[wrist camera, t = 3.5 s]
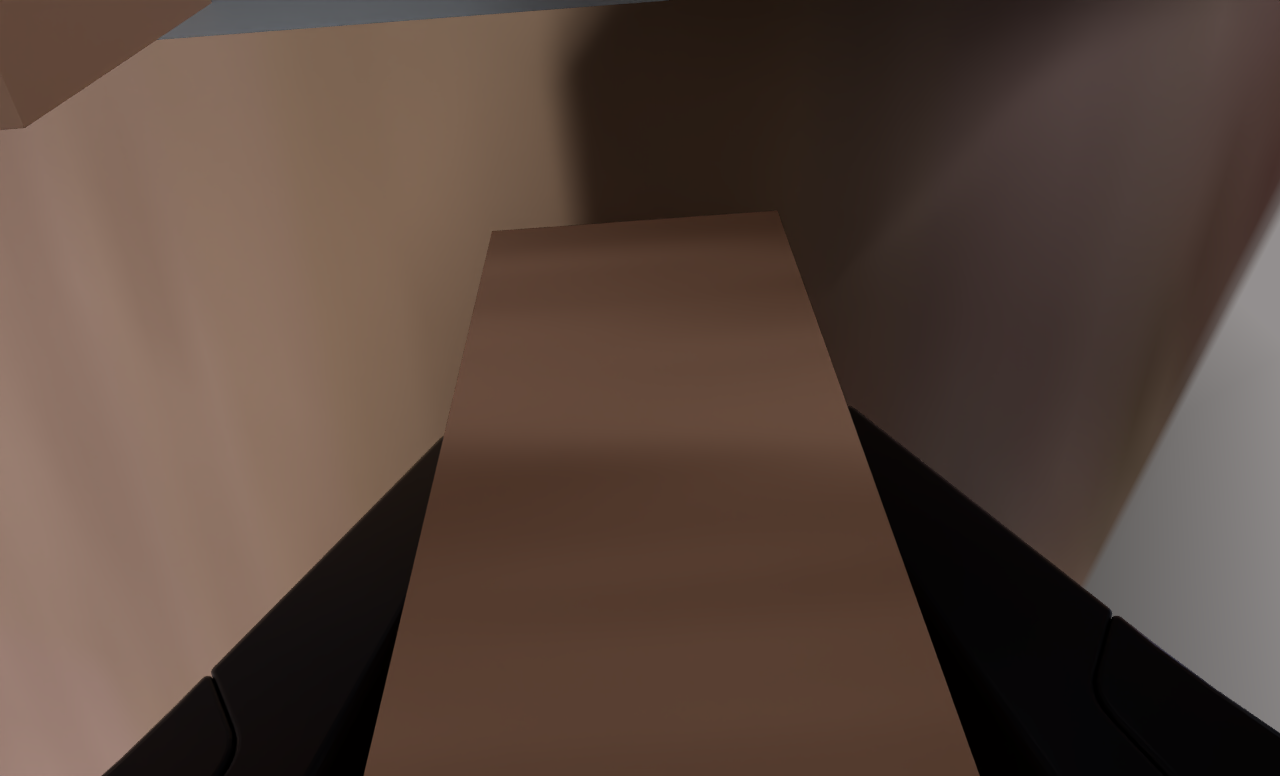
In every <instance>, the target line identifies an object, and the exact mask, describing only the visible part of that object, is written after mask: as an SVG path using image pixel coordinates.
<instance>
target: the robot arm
mask: <svg viewBox="0 0 1280 776" xmlns="http://www.w3.org/2000/svg"><path fill="white" fill-rule="evenodd" d="M847 407H848V409H849V412H850V415H851V418H852V421H853V423H854V426H855V429H856V432H857V434H858V437H859V440H860V443H861V446H862V448H863V451H864V454H865V457H866V460H867V462H868V465H869V468H870V471H871V474H872V476H873V479H874V482H875V485H876V488H877V490H878V493H879V496H880V499H881V502H882V504H883V507H884V510H885V513H886V515H887V518H888V521H889V524H890V527H891V529H892V532H893V535H894V538H895V541H896V543H897V546H898V549H899V552H900V555H901V557H902V560H903V563H904V566H905V569H906V571H907V574H908V577H909V580H910V583H911V585H912V588H913V591H914V594H915V596H916V599H917V602H918V605H919V608H920V610H921V613H922V616H923V619H924V622H925V624H926V627H927V630H928V633H929V636H930V638H931V641H932V644H933V647H934V650H935V652H936V655H937V658H938V661H939V664H940V666H941V669H942V672H943V675H944V677H945V680H946V683H947V686H948V689H949V691H950V694H951V697H952V700H953V703H954V705H955V708H956V711H957V714H958V717H959V719H960V722H961V725H962V728H963V731H964V733H965V736H966V739H967V742H968V745H969V747H970V750H971V753H972V756H973V758H974V761H975V764H976V767H977V770H978V772H979V775H980V776H1280V733H1279V732H1278V731H1276V730H1275V729H1273V728H1272V727H1270V726H1269V725H1267V724H1266V723H1264V722H1263V721H1261V720H1260V719H1259V718H1257V717H1256V716H1254V715H1253V714H1251V713H1250V712H1248V711H1247V710H1246V709H1244V708H1242V707H1241V706H1240V705H1238V704H1237V703H1235V702H1234V701H1232V700H1231V699H1229V698H1228V697H1226V696H1225V695H1224V694H1222V693H1221V692H1219V691H1217V690H1216V689H1215V688H1213V687H1212V686H1211V685H1209V684H1208V683H1207V682H1205V681H1204V680H1203V679H1201V678H1200V677H1199V676H1197V675H1196V674H1195V673H1193V672H1192V671H1191V670H1189V669H1188V668H1187V667H1185V666H1184V665H1183V664H1181V663H1180V662H1179V661H1177V660H1176V659H1175V658H1173V657H1172V656H1171V655H1169V654H1168V653H1167V652H1165V651H1164V650H1163V649H1161V648H1160V647H1159V646H1157V645H1156V644H1155V643H1153V642H1152V641H1151V640H1149V639H1148V638H1147V637H1146V636H1144V635H1143V634H1142V633H1141V632H1139V631H1138V630H1137V629H1136V628H1134V627H1133V626H1132V625H1130V624H1129V623H1128V622H1126V621H1125V620H1124V619H1123V618H1122V617H1120V616H1114V617H1112V611H1111V610H1110V609H1109V608H1108V607H1107V606H1106V605H1104V604H1103V603H1102V602H1101V601H1099V600H1098V599H1097V598H1096V597H1094V596H1093V595H1092V594H1090V593H1089V592H1088V591H1087V590H1085V589H1084V588H1083V587H1081V586H1080V585H1079V584H1078V583H1076V582H1075V581H1074V580H1073V579H1071V578H1070V577H1069V576H1067V575H1066V574H1065V573H1064V572H1062V571H1061V570H1060V569H1059V568H1057V567H1056V566H1055V565H1053V564H1052V563H1051V562H1050V561H1048V560H1047V559H1046V558H1045V557H1043V556H1042V555H1041V554H1039V553H1038V552H1037V551H1036V550H1034V549H1033V548H1032V547H1031V546H1029V545H1028V544H1027V543H1025V542H1024V541H1023V540H1022V539H1020V538H1019V537H1018V536H1017V535H1015V534H1014V533H1013V532H1011V531H1010V530H1009V529H1008V528H1006V527H1005V526H1004V525H1002V524H1001V523H1000V522H999V521H997V520H996V519H995V518H994V517H992V516H991V515H990V514H988V513H987V512H986V511H985V510H983V509H982V508H981V507H980V506H978V505H977V504H976V503H974V502H973V501H972V500H971V499H969V498H968V497H967V496H966V495H964V494H963V493H962V492H960V491H959V490H958V489H957V488H955V487H954V486H953V485H952V484H950V483H949V482H948V481H946V480H945V479H944V478H943V477H941V476H940V475H939V474H938V473H936V472H935V471H934V470H932V469H931V468H930V467H929V466H927V465H926V464H925V463H924V462H922V461H921V460H920V459H918V458H917V457H916V456H915V455H913V454H912V453H911V452H909V451H908V450H907V449H906V448H904V447H903V446H902V445H901V444H899V443H898V442H897V441H895V440H894V439H893V438H892V437H890V436H889V435H888V434H887V433H885V432H884V431H883V430H881V429H880V428H879V427H878V426H876V425H875V424H874V423H873V422H871V421H870V420H869V419H867V418H866V417H865V416H864V415H862V414H861V413H860V412H859V411H857V410H856V409H854V408H853V407H850V406H847ZM443 438H444V436H443V437H441V438H440V439H439V440H438V441H437V442H436V443H435V444H434V445H433V446H432V447H431V448H430V449H429V450H428V451H427V452H426V453H425V454H424V455H423V456H422V457H421V458H420V459H419V460H418V462H417V463H416V464H415V465H414V466H413V467H412V468H411V469H410V470H409V471H408V472H407V473H406V474H405V475H404V476H403V477H402V478H401V479H400V480H399V481H398V482H397V483H396V484H395V485H394V486H393V487H392V488H391V489H390V490H389V491H388V492H387V493H386V494H385V495H384V496H383V497H382V498H381V499H380V500H379V501H378V502H377V503H376V504H375V505H374V506H373V507H372V508H371V509H370V510H369V511H368V512H367V513H366V514H365V515H364V516H363V517H362V518H361V519H360V520H359V521H358V522H357V523H356V524H355V525H354V526H353V527H352V528H351V529H350V530H349V531H348V532H347V533H346V534H345V535H344V536H343V537H342V538H341V539H340V540H339V541H338V542H337V543H336V544H335V545H334V546H333V547H332V548H331V549H330V550H329V551H328V552H327V553H326V554H325V555H324V557H323V558H322V559H321V560H320V561H319V562H318V563H317V564H316V565H315V566H314V567H313V568H312V569H311V570H310V571H309V572H308V573H307V574H306V575H305V576H304V577H303V578H302V579H301V580H300V581H299V582H298V583H297V584H296V585H295V586H294V587H293V588H292V589H291V590H290V591H289V592H288V593H287V594H286V595H285V596H284V597H283V598H282V599H281V600H280V601H279V602H278V603H277V604H276V605H275V606H274V607H273V608H272V609H271V610H270V611H269V612H268V613H267V614H266V615H265V616H264V617H263V618H262V619H261V620H260V621H259V622H258V623H257V624H256V625H255V626H254V627H253V628H252V629H251V630H250V631H249V632H248V633H247V634H246V635H245V636H244V637H243V638H242V639H241V640H240V641H239V642H238V643H237V644H236V645H235V646H234V647H233V648H232V649H231V651H230V652H229V653H228V654H227V655H226V656H225V657H224V658H223V659H222V660H221V661H220V662H219V663H218V664H217V665H216V666H215V667H214V668H213V669H212V671H211V674H212V677H213V678H212V677H210V676H205V677H204V678H202V679H201V680H200V681H199V682H198V683H197V684H196V685H195V686H194V687H193V688H192V689H191V690H190V691H189V692H188V693H187V695H186V696H185V697H184V698H183V699H182V700H181V701H180V702H179V703H178V704H177V705H176V706H175V707H174V708H173V709H172V710H171V711H170V712H169V713H167V714H166V715H165V716H164V717H163V718H162V719H161V720H160V721H159V722H158V723H157V724H156V725H155V726H154V727H153V728H152V729H151V730H150V731H149V732H148V733H147V734H146V735H145V736H144V737H143V738H142V739H141V740H140V741H138V742H137V743H136V744H135V745H134V746H133V747H132V748H131V749H130V750H129V751H128V752H127V753H126V754H125V755H124V756H123V757H122V758H121V759H120V760H119V761H118V762H116V763H115V764H114V765H113V766H112V767H111V768H110V769H109V770H107V771H106V772H105V773H104V774H103V775H102V776H364V772H365V768H366V764H367V759H368V755H369V751H370V747H371V743H372V738H373V734H374V730H375V726H376V721H377V717H378V713H379V709H380V704H381V700H382V696H383V692H384V687H385V683H386V679H387V675H388V671H389V666H390V662H391V658H392V654H393V649H394V645H395V641H396V637H397V632H398V628H399V624H400V620H401V616H402V611H403V607H404V603H405V599H406V594H407V590H408V586H409V582H410V577H411V573H412V569H413V565H414V560H415V556H416V552H417V548H418V544H419V539H420V535H421V531H422V527H423V522H424V518H425V514H426V510H427V505H428V501H429V497H430V493H431V488H432V484H433V480H434V476H435V472H436V467H437V463H438V459H439V455H440V450H441V446H442V442H443ZM1111 617H1112V619H1111Z"/></svg>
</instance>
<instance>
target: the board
mask: <svg viewBox="0 0 1280 776" xmlns="http://www.w3.org/2000/svg"><path fill="white" fill-rule="evenodd" d="M654 1H667V0H0V130H5V129H18V128H25V127H27V126H28V125H30V124H31V123H33V122H34V121H36V120H37V119H39V118H40V117H42V116H43V115H45V114H46V113H48V112H49V111H51V110H52V109H54V108H55V107H57V106H58V105H60V104H61V103H63V102H64V101H66V100H67V99H69V98H70V97H72V96H73V95H75V94H76V93H78V92H79V91H81V90H82V89H84V88H85V87H87V86H88V85H90V84H91V83H93V82H94V81H96V80H97V79H99V78H100V77H102V76H103V75H105V74H106V73H108V72H109V71H111V70H112V69H114V68H115V67H117V66H118V65H120V64H121V63H123V62H124V61H126V60H127V59H129V58H130V57H132V56H133V55H135V54H136V53H138V52H139V51H141V50H142V49H144V48H145V47H147V46H148V45H150V44H151V43H153V42H154V41H156V40H161V39H174V38H187V37H200V36H213V35H226V34H239V33H252V32H265V31H278V30H291V29H304V28H317V27H330V26H343V25H356V24H369V23H382V22H394V21H407V20H420V19H433V18H446V17H459V16H472V15H485V14H498V13H511V12H524V11H537V10H550V9H563V8H576V7H589V6H602V5H615V4H628V3H641V2H654Z"/></svg>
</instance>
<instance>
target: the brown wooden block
mask: <svg viewBox="0 0 1280 776" xmlns="http://www.w3.org/2000/svg"><path fill="white" fill-rule="evenodd" d="M364 776H980V775H979V772H978V770H977V767H976V764H975V761H974V758H973V756H972V753H971V750H970V747H969V745H968V742H967V739H966V736H965V733H964V731H963V728H962V725H961V722H960V719H959V717H958V714H957V711H956V708H955V705H954V703H953V700H952V697H951V694H950V691H949V689H948V686H947V683H946V680H945V677H944V675H943V672H942V669H941V666H940V664H939V661H938V658H937V655H936V652H935V650H934V647H933V644H932V641H931V638H930V636H929V633H928V630H927V627H926V624H925V622H924V619H923V616H922V613H921V610H920V608H919V605H918V602H917V599H916V596H915V594H914V591H913V588H912V585H911V583H910V580H909V577H908V574H907V571H906V569H905V566H904V563H903V560H902V557H901V555H900V552H899V549H898V546H897V543H896V541H895V538H894V535H893V532H892V529H891V527H890V524H889V521H888V518H887V515H886V513H885V510H884V507H883V504H882V502H881V499H880V496H879V493H878V490H877V488H876V485H875V482H874V479H873V476H872V474H871V471H870V468H869V465H868V462H867V460H866V457H865V454H864V451H863V448H862V446H861V443H860V440H859V437H858V434H857V432H856V429H855V426H854V423H853V421H852V418H851V415H850V412H849V409H848V407H847V404H846V401H845V398H844V395H843V393H842V390H841V387H840V384H839V381H838V379H837V376H836V373H835V370H834V367H833V365H832V362H831V359H830V356H829V353H828V351H827V348H826V345H825V342H824V340H823V337H822V334H821V331H820V328H819V326H818V323H817V320H816V317H815V314H814V312H813V309H812V306H811V303H810V300H809V298H808V295H807V292H806V289H805V286H804V284H803V281H802V278H801V275H800V272H799V270H798V267H797V264H796V261H795V259H794V256H793V253H792V250H791V247H790V245H789V242H788V239H787V236H786V233H785V231H784V228H783V225H782V222H781V219H780V217H779V214H778V211H763V212H749V213H735V214H722V215H708V216H694V217H681V218H667V219H653V220H639V221H626V222H612V223H598V224H585V225H571V226H557V227H544V228H530V229H516V230H502V231H492V234H491V239H490V243H489V247H488V251H487V256H486V260H485V264H484V268H483V272H482V277H481V281H480V285H479V289H478V294H477V298H476V302H475V306H474V311H473V315H472V319H471V323H470V328H469V332H468V336H467V340H466V344H465V349H464V353H463V357H462V361H461V366H460V370H459V374H458V378H457V383H456V387H455V391H454V395H453V400H452V404H451V408H450V412H449V416H448V421H447V425H446V429H445V433H444V438H443V442H442V446H441V450H440V455H439V459H438V463H437V467H436V472H435V476H434V480H433V484H432V488H431V493H430V497H429V501H428V505H427V510H426V514H425V518H424V522H423V527H422V531H421V535H420V539H419V544H418V548H417V552H416V556H415V560H414V565H413V569H412V573H411V577H410V582H409V586H408V590H407V594H406V599H405V603H404V607H403V611H402V616H401V620H400V624H399V628H398V632H397V637H396V641H395V645H394V649H393V654H392V658H391V662H390V666H389V671H388V675H387V679H386V683H385V687H384V692H383V696H382V700H381V704H380V709H379V713H378V717H377V721H376V726H375V730H374V734H373V738H372V743H371V747H370V751H369V755H368V759H367V764H366V768H365V772H364Z"/></svg>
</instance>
